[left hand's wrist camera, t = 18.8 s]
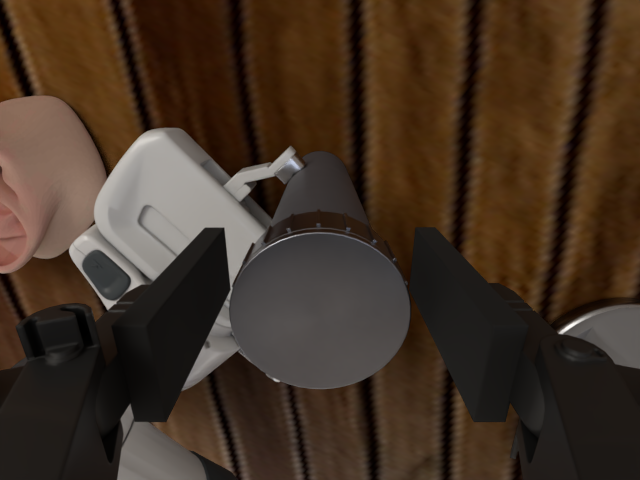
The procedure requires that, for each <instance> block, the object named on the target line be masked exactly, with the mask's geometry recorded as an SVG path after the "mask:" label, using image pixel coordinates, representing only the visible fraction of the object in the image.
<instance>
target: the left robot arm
mask: <svg viewBox="0 0 640 480" xmlns="http://www.w3.org/2000/svg"><path fill="white" fill-rule="evenodd" d="M230 290H231V288H230V278H229V268H228V258H227V248H226V238H225V228H224V227H205V228H204V229H203V230H202V231H201V232H200V233H199V234H198V235H197V236H196V237H195V238H194V239H193V240H192V242H191V243H190V244H189V245H188V246H187V247H186V248H185V249H184V250H183V251H182V252H181V253H180V254H179V255H178V256H177V257H176V258H175V259H174V260H173V261H172V262H171V264H170V265H169V266H168V267H167V268H166V269H165V270H164V271H163V272H162V273H161V274H160V275H159V276H158V277H157V278H156V279H155V280H154V281H153V282H152V283H151V284H141V285H139V286H138V287H136V288H134V289H132V290H130V291H128V292H126V293H125V294H124V295H123V296H122V297H121V298H120V299H119V300H118V301H117V302H116V304H114V305H113V306H112V307H111V308H110V309H109V310H108V312H106V313H104V314H103V315H102V316H101V317H100V318H99V319H98V320H97V321H96V322H95V320H94V316H93V313H92V309H91V307H89V306H88V305H86V304H79V303H71V304H62V305H58V306H53V307H49V308H46V309H44V310H41V311H38V312H36V313H34V314H32V315H30V316H28V317H27V318H25V319H23V320H22V321H21V322H20V323H19V324H18V325H17V326H16V329H17V332H18V335H19V338H20V341H21V343H22V346H23V349H24V352H25V355H26V357H27V362H26V364H25V366H21V367H16V368H11V369H6V370H1V371H0V480H117V478H118V471H119V463H120V456H121V449H122V442H123V435H124V433H123V426H122V422H121V417H122V416H123V414H124V413H125V411H126V409H127V408H128V406H129V405H131V409H132V413H133V417H134V421H135V422H166V421H167V419H168V417H169V415H170V413H171V411H172V409H173V407H174V405H175V403H176V401H177V399H178V397H179V395H180V393H181V391H182V388H183V386H184V384H185V382H186V380H187V378H188V376H189V374H190V372H191V370H192V368H193V366H194V364H195V362H196V360H197V358H198V356H199V354H200V352H201V350H202V348H203V345H204V343H205V341H206V339H207V337H208V335H209V333H210V331H211V329H212V327H213V325H214V323H215V321H216V319H217V317H218V315H219V313H220V311H221V309H222V307H223V305H224V302H225V300H226V298H227V296H228V294H229V292H230ZM409 290H410V292H411V294H412V296H413V298H414V300H415V303H416V305H417V307H418V309H419V311H420V313H421V315H422V317H423V319H424V321H425V323H426V325H427V327H428V329H429V331H430V333H431V335H432V337H433V339H434V341H435V343H436V345H437V348H438V350H439V352H440V354H441V356H442V358H443V360H444V362H445V364H446V366H447V368H448V370H449V372H450V374H451V376H452V378H453V380H454V382H455V384H456V386H457V388H458V391H459V393H460V395H461V397H462V399H463V401H464V403H465V405H466V407H467V409H468V411H469V413H470V415H471V417H472V419H473V421H474V422H505V421H506V417H507V413H508V409H509V405H510V403H511V404H512V406H513V408H514V409H515V411H516V412H517V414H518V415H519V417H520V419H519V422H518V426H517V430H516V434H515V438H514V441H513V445H512V449H511V455H510V458H513V459H516V455H517V451H519V455H520V462H521V470H522V477H523V480H640V300H639V299H633V298H611V299H604V300H600V301H595V302H592V303H589V304H586V305H583V306H581V307H578V308H576V309H574V310H572V311H570V312H568V313H567V314H565V315H563V316H562V317H560V318H559V319H557V320H556V321H555V322H553V323H552V324H551V325H549V324H548V323H547V322H546V321H545V320H544V319H543V318H541V317H540V316H539V315H538V314H537V313H536V312H535V311H532V308H531V307H530V306H529V305H528V304H527V303H524V300H523V299H521V298H520V297H519V296H518V295H517V294H516V293H515V292H514V291H512V290H510V289H509V288H507V287H505V286H503V285H501V284H499V283H488V282H487V281H486V280H485V279H484V278H483V277H482V276H481V275H480V274H479V273H478V272H477V271H476V270H475V269H474V268H473V267H472V266H471V265H470V264H469V262H468V261H467V260H466V259H465V258H464V257H463V256H462V255H461V254H460V253H459V252H458V251H457V250H456V249H455V248H454V247H453V246H452V245H451V244H450V243H449V242H448V240H447V239H446V238H445V237H444V236H443V235H442V234H441V233H440V232H439V231H438V230H437V229H436V228H435V227H416V228H415V238H414V248H413V258H412V268H411V278H410V288H409Z"/></svg>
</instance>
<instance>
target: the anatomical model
mask: <svg viewBox="0 0 640 480" xmlns="http://www.w3.org/2000/svg"><path fill="white" fill-rule="evenodd" d="M106 180H107V176H106V171H105V168H104V165H103V162H102V159H101V157H100V155H99V152H98V150H97V148H96V146H95V144H94V142H93V140H92V139H91V137H90V135H89V133H88V132H87V130H86V128H85V126H84V125H83V123H82V122H81V120H80V119H79V117H78V116H77V115H76V113H75V112H74V111H73V110H72V109H71V108H70V107H69V106H68V105H67V104H66V103H65V102H64V101H62V100H60V99H59V98H56V97H53V96H30V97H23V98H16V99H11V100H7V101H4V102H1V103H0V273H11V272H14V271H16V270H18V269H19V268H21V267H22V266H24V265H25V264H26V263H27V262H28V261H29V260H30V259H31V258H32V256H34V257H37V258H42V259H49V258H54V257H56V256H58V255H60V254H62V253H63V252H64V251H66V250H67V249H68V248H70V246H71V244H72V243H73V242H74V241H75V240H76V239H77V238H78V237H79V236H80V235H81V234H83V233H84V232H85V231H86V230H87V229H88V228H89V226H90V225H91V224H92V223H93V221H94V220H95V219H94V206H95V202H96V199H97V196H98V194H99V192H100V190H101V189H102V187H103V185H104V184H105V182H106Z"/></svg>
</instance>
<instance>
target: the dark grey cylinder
mask: <svg viewBox="0 0 640 480" xmlns="http://www.w3.org/2000/svg"><path fill="white" fill-rule="evenodd" d="M302 158H303V160H304V161H305V162H306V165H305V166H304V167H303V168H302V169H301V170H300V171H299V172H298V173H294V175H293V177H292V178H291V180H290V181H289V182H288V184H287V187H286V189H285V191H284V194H283V196H282V198H281V201H280V203H279V205H278V208H277V210H276V213H275V215H274V217H273V220H272V222H271V224H270V225H271V226H273V225H275V224H276V223H278V222H280V221H282V220H284V219H286V218H288V217H290V215H291V214H293V213H294V215H297V214H301V213H306V212H316V211H317V209H320V211H323V212H334V213H339V214H343V213H347V216H349V217H352V218H354V219H356V220H359V221H361V222H362V223H364V224H365V225H367V224H369V221H368V219H367V217H366V214H365V212H364V210H363V207H362V205H361V203H360V200H359V198H358V195H357V193H356V191H355V188H354V186H353V184H352V181H351V179H350V177H349V174H348V172H347V170H346V167H345V165H344V164H343V162H342V161H341V160H340V159H339V158H338V157H336V156H335V155H333V154H331V153H328V152H324V151H317V152H312V153H309V154H307V155H305V156H304V157H302Z"/></svg>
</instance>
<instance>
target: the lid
mask: <svg viewBox="0 0 640 480" xmlns="http://www.w3.org/2000/svg"><path fill="white" fill-rule="evenodd" d="M407 285H408V282H407V280H406V278H405V276H404V274H403V272H402V270H401V268H400V266H399V264H398V262H397V260H396V258H395V256H394V254H393V252H392V250H391V248H390V246H389V244H388V242H387V241H383V240H382V239H381V237H380V236H379V235H378V234H377V233H376V232H375V231H373V230H372V228H371V226H370V224H367V225H365V224H364V223H362V222H361V221H359V220H356V219H354V218H352V217H349V216H347V213H343V214H339V213H334V212H323V211H320V209H317V211H316V212H306V213H301V214H297V215H294V213H293V214H291V215H290V217H288V218H286V219H284V220H282V221H280V222H278V223H276V224H275V225H273V226H271V225H269V226H268V227H267V230H266V232H265V233H263V234H262V235H261V237H260V238H259V239H258V240H257V241H256V242H255V244H254V243H252V244H251V246H250V248H249V250H248V252H247V254H246V256H245V258H244V260H243V262H242V266H241V268H240V270H239V272H238V274H237V276H236V278H235V280H234V282H233V284H232V287H233V289H232V293H231V297H230V304H229V317H230V323H231V328H232V331H233V334H234V337H235V339H236V341H237V343H238V345H239V347H240V348H241V350H242V351H243V353H244V354H245V355H246V357H247V358H248V359H249V360H250V361H251V362H252V363H253V364H254V365H255V366H257V367H258V368H259V369H260V370H262V371H263V372H265V373H266V374H268V375H269V376H271V377H273V378H275V379H277V380H279V381H282V382H284V383H287V384H290V385H294V386H298V387H303V388H310V389H329V388H337V387H343V386H346V385H350V384H354V383H356V382H359V381H361V380H363V379H365V378H367V377H369V376H371V375H373V374H374V373H376V372H377V371H379V370H380V369H381V368H383V367H384V366H385V365H386V364H387V363H388V362H389V361H390V360H391V359H392V358H393V357H394V356H395V354H396V353H397V352H398V350H399V349H400V347H401V346H402V344H403V342H404V339H405V337H406V335H407V332H408V329H409V325H410V319H411V302H410V295H409V292H408V288H407Z"/></svg>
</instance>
